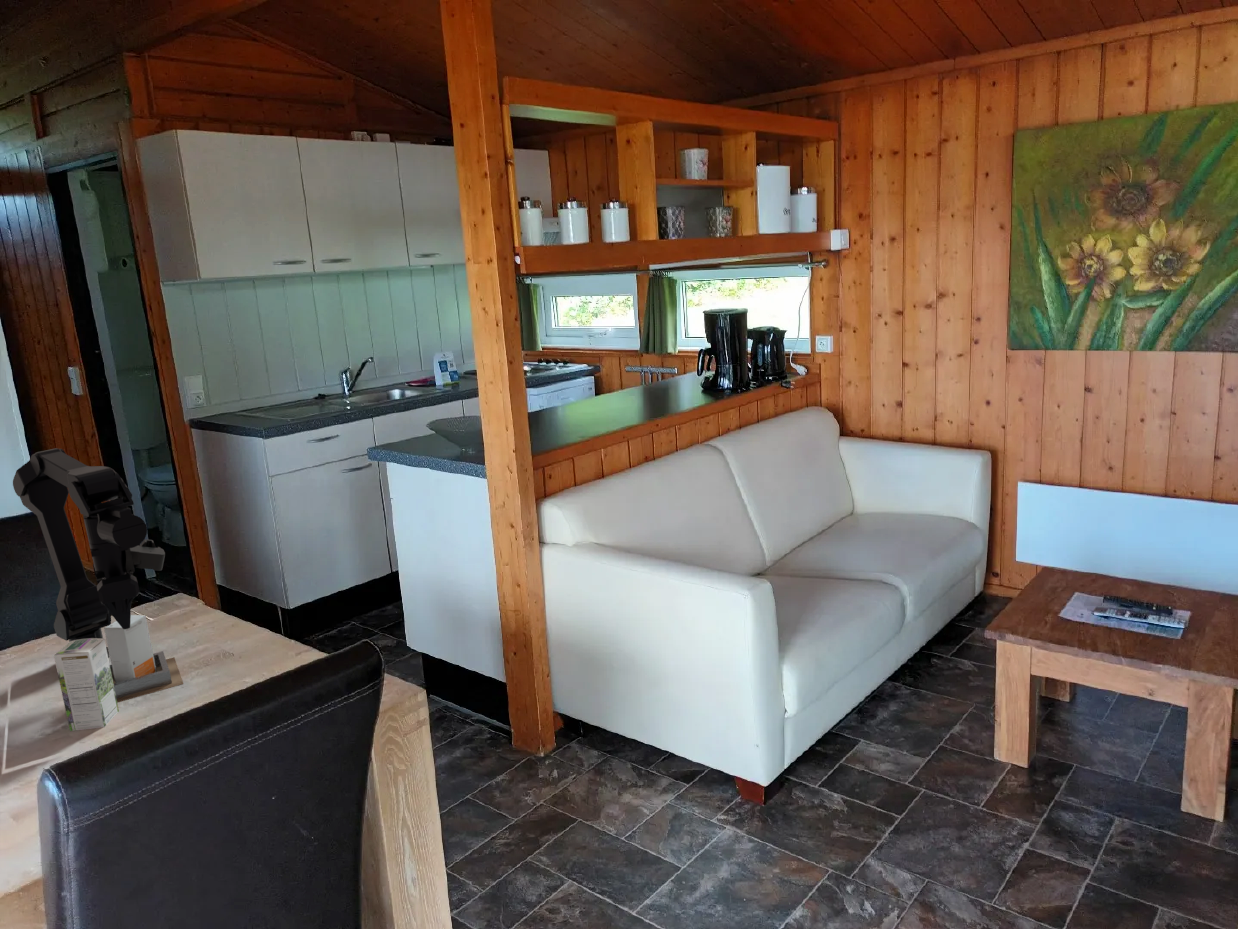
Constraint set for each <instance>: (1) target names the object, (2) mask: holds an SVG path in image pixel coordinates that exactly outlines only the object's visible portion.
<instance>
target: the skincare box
mask: <svg viewBox="0 0 1238 929" xmlns="http://www.w3.org/2000/svg"><path fill="white" fill-rule="evenodd" d="M103 628H104V634H105V638H106V639H105V641H106V644H107V645H106V646H107V647H108V651H109V658H110V665H112V669H113V674H114V679H115V683H118V682H122V681H125V680H129V679H133V678H136V677H140V676H144V675H148V674H151V673H155V672H157V671H156V666H155V661H154V656H153V654H154V652H153V646H152V642H151V636H150V631H149V626H148V620H147V617H146V615H145V614H144V615H141V614H131V619H130V628H128V629H123V628H122V627H121V626H120V624H119V623H118V622H117V621H116V620H115V621H113V622H111V624H110V625H109V626H105V627H103Z"/></svg>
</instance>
